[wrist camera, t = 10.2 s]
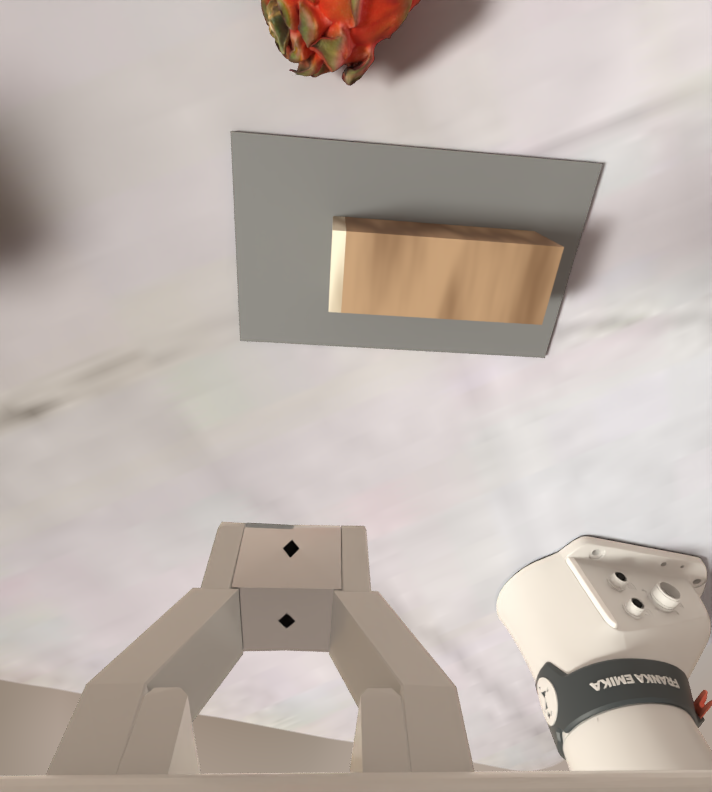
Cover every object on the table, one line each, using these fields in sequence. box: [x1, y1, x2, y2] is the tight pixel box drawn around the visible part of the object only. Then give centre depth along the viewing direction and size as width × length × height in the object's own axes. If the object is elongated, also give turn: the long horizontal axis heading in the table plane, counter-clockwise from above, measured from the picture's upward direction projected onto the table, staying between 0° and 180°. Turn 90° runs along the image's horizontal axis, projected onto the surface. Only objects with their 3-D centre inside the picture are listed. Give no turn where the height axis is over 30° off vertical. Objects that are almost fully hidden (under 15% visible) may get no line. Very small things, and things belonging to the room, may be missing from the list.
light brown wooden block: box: [329, 216, 564, 325], centre depth 32 cm, size 5×5×14 cm
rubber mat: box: [231, 131, 602, 358], centre depth 34 cm, size 24×14×1 cm, turn 86°
